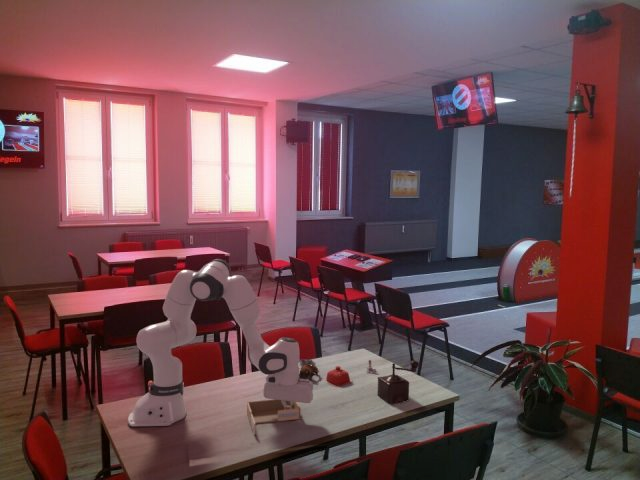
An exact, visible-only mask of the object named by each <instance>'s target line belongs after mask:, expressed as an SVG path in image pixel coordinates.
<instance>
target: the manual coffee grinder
mask: <svg viewBox="0 0 640 480" xmlns="http://www.w3.org/2000/svg"><path fill="white" fill-rule="evenodd" d="M419 367H420V363H419V362H418V361H417V360H412V361H410V369H409V368H404V367H396V364H395V363H394V362H393V363H392V365H391V368H392V374H389V375H385V376H383V375H382V376H379V377H377V396H378V397H379V398H380V400H382V401H384V402H385V403H386V404H388V405H389V404H391V405H395V403H396V404H398V403H400V404H402V403H404V402H403V401H406V402H408V401H407V400H409V401H410V396H409V395H410V381H408V380H407V379H405V378H403V377H402V376H401V375H398V374H395V373H396V371H395V370H399V371H406V372H411V373H417V369H418V368H419Z"/></svg>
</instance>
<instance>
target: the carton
mask: <svg viewBox="0 0 640 480" xmlns="http://www.w3.org/2000/svg"><path fill="white" fill-rule="evenodd" d="M285 402H286V404H287V405H291V404H290V401H285ZM296 408H301V406H300V404H299V402H294V404H293V406H292V409H296ZM278 410H284V406H283V404H282V403H281V400H276V399H264V400H252V401H247V402H246V415H247V418H248V422H249V425H250V426H251V424H250V413H252V415H253V418H254V421H255V425H260V424H267V423H268V424H269V423H276V422H279V421H278ZM294 420H296V421H297V420H298V419H294ZM294 420H293V421H294ZM286 421H289V420H284V421H283V422H286Z"/></svg>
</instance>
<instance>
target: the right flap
mask: <svg viewBox="0 0 640 480" xmlns="http://www.w3.org/2000/svg"><path fill="white" fill-rule="evenodd" d="M301 411H302V409H301V407H300V408H296V409H286V410H278V422H285V421H284V420H288V421H294V419H297V420H300V419H301V417H302V416H301V415H302V414H301V413H302V412H301Z"/></svg>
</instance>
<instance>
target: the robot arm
mask: <svg viewBox="0 0 640 480" xmlns="http://www.w3.org/2000/svg"><path fill="white" fill-rule="evenodd" d="M168 288H169V289H168V291H167V294H166V296H165V298H164V299H165V300H164V302H163V306H162V311H163V314H164V316H165V317H166V318H167V320H166V321H162V322H159V323H155V324H154V323H153V324H150V325H148V326H146V327H144V328H142V329H140V330H139V331H138V333H137V335H136V339H135V341H136V346H137V348H138V349H139V351H141V353H143V354H145V355H146V356H148V358H149V359H150V362H151V364H152V372H153V380H149V381H148V383H147V386H148V388H147V389H148V392H147V393H145V394H144V395H143V396H141V397H140V398H139V399H138V400H137V401H136V403H135V405H134V409H133V410H132V411H131V412H130V413H129V415H128V418H127V424H128V425H129V426H131V427H166V426H167V427H168V426H171V425H173V424H174V423H175V422H179V421H181V420H183V419H184V418H185V417H186V416H187V413H188V412H187V410H186V407H185V406H186V405H185V401H184V400H185V399H184V392H185V389H184V386H185V385H184V384H185V383H184V379H183V363H182V361H181V359H179V358H178V357H176V356H173V354H172V349H174V348H177V347H180V346H184V345H186V344H188V343H189V342H190V343H191V342H192V341H194V339H196V335H197V325H196V324H195V322H194V321H193V320H192V319H191V317H192V312H193V309H194V307H195V303H196V301H200V302H208V301H209V302H210V301H219V300H221V298H222V299H224V300H225V302H226V305H227V306H228V308H229V311H230V313H231V314H232V317H233V319H234V320H235V322H236V323H237V324H238V326H239V327H240V330H241V332H242V334H243V336H244V340H245V342H246V345H247V358H248V361H249V362H250V364H252V365H253V366H255V367H256V368H257V369H258V370H259V371H260V372H261V373H262V374H264V375H267V376H266V377H265V383H264V386H263V397H264V399H267V400H272V399H276V400H281V403H282V404H283V406H284V410H286V409H292V406H293V404H294V402H297V403H303V404H311V403H312V401H313V400H314V393H313V389H314V382H313V381H311V380H308V379H307V378H306V379H300V378H299V374H300V366H299V364H300V361H299V360H300V347H299V342H298V341H297V340H296V339H294V338H292V337H286V336H285V337H284V336H283V337H280V338H279V339H278V340H277V341H276V342H275V343H274V344H272V345H269V344H268V343H267V342H266V341H264V339H263V337H262V335H261V333H260V330H259V327H258V325H257V321H258V320H259V318H260V316H261V314H262V311H261V307H260V303H259V300H258V297H257V295H256V293H255V292H254V289H253V287H252V286H251V283H250V282H249V280H248V279H247V278H246V277H245V276H243V275H240V274H235V275H232V268H231V266H230V264H229V263H228V262H227V261H226V260H224V259H221V258H216V259H213V260H210V261H208V262H207V263H205V264H204V265H202V266H201V267H200V268H199V270H198V271H193V270H190V269H182V270H181V271H179V272H177V274H176V275H175V276H174V278H173V280H172V281H171V284H170V286H169V287H168ZM285 401H290V404H291V405H287V404H286V402H285Z"/></svg>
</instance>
